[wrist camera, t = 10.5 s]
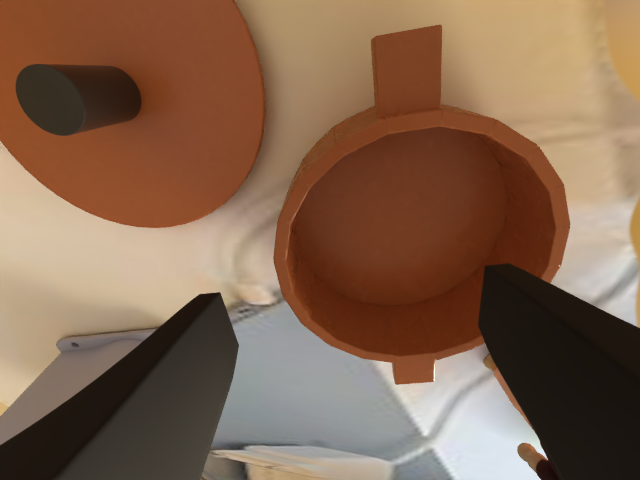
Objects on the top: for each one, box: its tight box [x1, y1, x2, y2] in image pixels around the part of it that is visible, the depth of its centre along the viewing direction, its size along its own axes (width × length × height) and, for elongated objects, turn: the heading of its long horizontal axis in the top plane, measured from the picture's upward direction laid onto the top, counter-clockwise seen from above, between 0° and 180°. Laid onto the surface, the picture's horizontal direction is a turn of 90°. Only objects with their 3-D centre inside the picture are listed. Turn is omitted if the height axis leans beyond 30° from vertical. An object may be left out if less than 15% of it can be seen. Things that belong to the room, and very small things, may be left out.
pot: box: [273, 25, 570, 385], centre depth 17 cm, size 13×19×5 cm
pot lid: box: [0, 0, 266, 228], centre depth 14 cm, size 14×14×5 cm
